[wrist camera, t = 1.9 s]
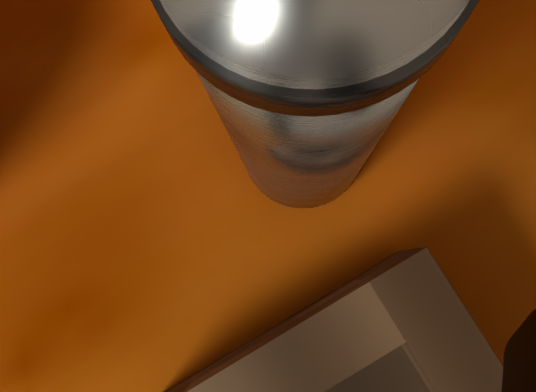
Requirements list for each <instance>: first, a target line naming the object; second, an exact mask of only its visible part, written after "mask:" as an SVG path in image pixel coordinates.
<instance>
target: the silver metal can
mask: <svg viewBox="0 0 536 392" xmlns="http://www.w3.org/2000/svg"><path fill="white" fill-rule="evenodd" d="M151 1H152V3H153V5H154V7H155V9H156V11H157V13H158V15H159V17H160V19H161V21H162V22H163V24H164V26H165V28H166V30H167V31H168V33H169V35H170V37H171V39H172V41H173V42H174V44H175V45H176V47H177V48H178V50H179V51H180V52H181V54H182V55H183V57H184V58H185V59H186V61H187V62H188V63H189V64H190V65H191V66H192V67H193V68H194V69H195V70H196V72H197V74H198V76H199V78H200V79H201V81H202V83H203V85H204V87H205V89H206V91H207V93H208V95H209V97H210V99H211V101H212V103H213V105H214V107H215V109H216V111H217V112H218V114H219V116H220V118H221V120H222V122H223V124H224V126H225V128H226V130H227V132H228V134H229V136H230V138H231V140H232V142H233V144H234V145H235V147H236V149H237V151H238V153H239V155H240V157H241V159H242V161H243V163H244V165H245V167H246V169H247V171H248V173H249V175H250V176H251V178H252V180H253V182H254V183H255V185H256V186H257V187H258V188H259V189H260V191H261V192H262V193H264V194H265V195H266V196H267V197H269V198H270V199H272V200H273V201H275V202H277V203H279V204H282V205H285V206H288V207H293V208H313V207H318V206H321V205H324V204H327V203H329V202H331V201H333V200H334V199H336V198H337V197H339V196H340V195H341V194H342V193H343V192H345V191H346V190H347V188H348V187H349V186H350V185H351V183H352V182H353V180H354V179H355V177H356V176H357V174H358V173H359V171H360V169H361V168H362V166H363V165H364V163H365V162H366V160H367V159H368V157H369V155H370V154H371V152H372V151H373V149H374V148H375V146H376V145H377V143H378V142H379V140H380V138H381V137H382V135H383V134H384V132H385V131H386V129H387V128H388V126H389V125H390V123H391V121H392V120H393V118H394V117H395V115H396V114H397V112H398V111H399V109H400V107H401V106H402V104H403V103H404V101H405V100H406V98H407V97H408V95H409V94H410V92H411V90H412V89H413V87H414V86H415V84H416V83H417V81H418V80H419V78H420V77H421V76H422V75H423V74H424V73H425V72H427V71H428V70H429V69H430V68H431V67H432V66H433V65H434V64H435V63H436V62H437V60H438V59H439V58H440V57H441V56H442V54H443V53H444V52H445V51H446V50H447V48H448V47H449V45H450V44H451V42H452V41H453V39H454V38H455V37H456V35H457V34H458V32H459V31H460V29H461V28H462V26H463V25H464V23H465V22H466V20H467V19H468V17H469V16H470V14H471V13H472V11H473V9H474V8H475V6H476V5H477V3H478V1H479V0H151Z"/></svg>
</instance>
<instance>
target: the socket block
mask: <svg viewBox="0 0 536 392" xmlns="http://www.w3.org/2000/svg"><path fill="white" fill-rule="evenodd" d="M502 375H503V365H502V364H501V362H500V361H499V359H498V358H497V356H496V354H495V353H494V351H493V350H492V348H491V347H490V345H489V344H488V342H487V340H486V339H485V337H484V336H483V334H482V333H481V331H480V330H479V328H478V326H477V325H476V323H475V322H474V320H473V319H472V317H471V316H470V314H469V312H468V311H467V309H466V308H465V306H464V305H463V303H462V302H461V300H460V298H459V297H458V295H457V294H456V292H455V291H454V289H453V288H452V286H451V284H450V283H449V281H448V280H447V278H446V277H445V275H444V274H443V272H442V270H441V269H440V267H439V266H438V264H437V263H436V261H435V260H434V258H433V256H432V255H431V253H430V252H429V250H428V249H427V247H425V248H419V249H412V250H406V251H399V252H397V253H395V254H394V255H392V256H390V257H389V258H387V259H385V260H384V261H382V262H380V263H379V264H377V265H375V266H374V267H372V268H370V269H369V270H367V271H365V272H364V273H362V274H360V275H359V276H357V277H355V278H354V279H352V280H350V281H349V282H347V283H345V284H344V285H342V286H340V287H339V288H337V289H336V290H334V291H332V292H331V293H329V294H327V295H326V296H324V297H322V298H321V299H319V300H317V301H316V302H314V303H312V304H311V305H309V306H307V307H306V308H304V309H302V310H301V311H299V312H297V313H296V314H294V315H292V316H291V317H289V318H287V319H286V320H284V321H282V322H281V323H279V324H277V325H276V326H274V327H272V328H271V329H269V330H267V331H266V332H264V333H262V334H261V335H259V336H257V337H256V338H254V339H252V340H251V341H249V342H247V343H246V344H244V345H242V346H241V347H239V348H237V349H236V350H234V351H232V352H231V353H229V354H227V355H226V356H224V357H222V358H221V359H219V360H218V361H216V362H214V363H213V364H211V365H209V366H208V367H206V368H204V369H203V370H201V371H199V372H198V373H196V374H194V375H193V376H191V377H189V378H188V379H186V380H184V381H183V382H181V383H179V384H178V385H176V386H174V387H173V388H171V389H169V390H168V391H166V392H501V389H502Z"/></svg>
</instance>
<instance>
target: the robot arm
mask: <svg viewBox="0 0 536 392" xmlns="http://www.w3.org/2000/svg"><path fill="white" fill-rule="evenodd" d="M501 392H536V309H535V310H534V311H533V312H531V314H530V315H529V316H528V317H527V318H526V320H525V321H524V322H523V323H522V325H521V326H520V327H519V328H518V329H517V331H516V332H515V333H514V334H513V335H512V337H511V338H510V339H509V341H508V343H507V345H506V348H505V352H504V361H503V375H502V389H501Z"/></svg>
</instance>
